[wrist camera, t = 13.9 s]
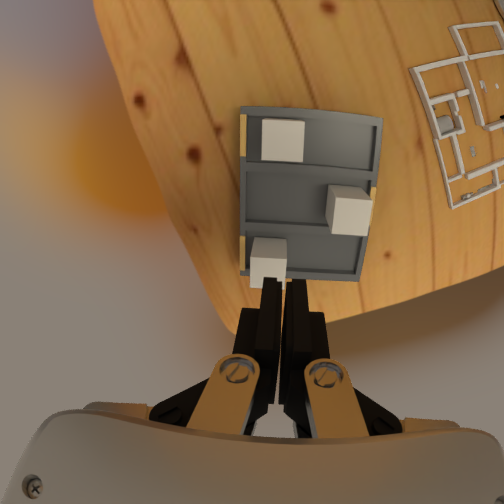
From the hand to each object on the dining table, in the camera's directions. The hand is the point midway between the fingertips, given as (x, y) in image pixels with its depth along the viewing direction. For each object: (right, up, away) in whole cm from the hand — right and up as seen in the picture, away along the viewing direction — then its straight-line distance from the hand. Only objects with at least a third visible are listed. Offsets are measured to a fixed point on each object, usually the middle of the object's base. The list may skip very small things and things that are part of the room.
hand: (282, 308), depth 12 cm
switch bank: (+4, +8, +17) cm, 19 cm away
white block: (+7, +7, +14) cm, 17 cm away
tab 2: (0, +2, +17) cm, 17 cm away
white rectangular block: (+1, +12, +12) cm, 17 cm away
